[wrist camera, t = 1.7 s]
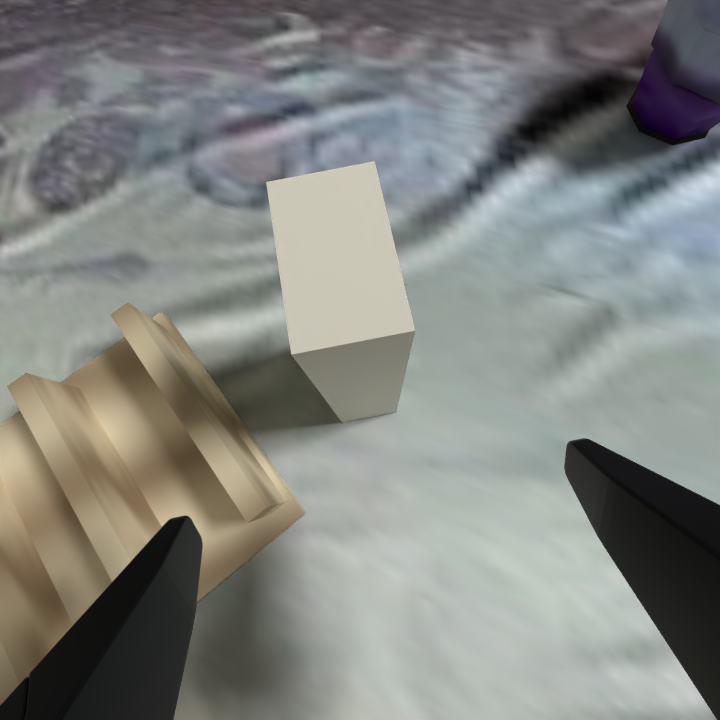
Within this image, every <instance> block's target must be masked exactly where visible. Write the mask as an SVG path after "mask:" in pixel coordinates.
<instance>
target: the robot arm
mask: <svg viewBox="0 0 720 720" xmlns="http://www.w3.org/2000/svg"><path fill="white" fill-rule="evenodd" d="M564 468H565V473H566V476H567V478H568V480H569V482H570V484H571V486H572V488H573V490H574V492H575V494H576V496H577V498H578V500H579V501H580V503H581V505H582V507H583V509H584V511H585V513H586V515H587V517H588V519H589V521H590V523H591V525H592V527H593V529H594V530H595V532H596V534H597V536H598V538H599V539H600V541H601V542H602V544H603V546H604V547H605V549H606V550H607V552H608V553H609V555H610V556H611V558H612V559H613V561H614V563H615V564H616V566H617V567H618V569H619V570H620V572H621V573H622V575H623V576H624V578H625V579H626V581H627V582H628V584H629V586H630V587H631V589H632V590H633V592H634V593H635V595H636V596H637V598H638V599H639V601H640V602H641V604H642V605H643V607H644V609H645V610H646V612H647V613H648V615H649V616H650V618H651V619H652V621H653V622H654V624H655V625H656V627H657V628H658V630H659V631H660V633H661V635H662V636H663V638H664V639H665V641H666V642H667V644H668V645H669V647H670V648H671V650H672V651H673V653H674V654H675V656H676V658H677V659H678V661H679V662H680V664H681V665H682V667H683V668H684V670H685V671H686V673H687V674H688V676H689V677H690V679H691V680H692V682H693V684H694V685H695V687H696V688H697V690H698V691H699V693H700V694H701V696H702V697H703V699H704V700H705V702H706V703H707V705H708V707H709V708H710V710H711V711H712V713H713V714H714V716H715V717H716V719H717V720H720V505H719V504H717V503H715V502H713V501H711V500H709V499H707V498H705V497H703V496H701V495H699V494H697V493H695V492H693V491H691V490H689V489H687V488H685V487H683V486H681V485H679V484H677V483H675V482H673V481H671V480H669V479H667V478H665V477H663V476H661V475H659V474H657V473H655V472H653V471H651V470H649V469H647V468H645V467H643V466H641V465H639V464H637V463H635V462H633V461H631V460H629V459H627V458H625V457H623V456H621V455H619V454H617V453H615V452H613V451H611V450H609V449H607V448H605V447H603V446H601V445H599V444H597V443H595V442H593V441H591V440H589V439H586V438H583V439H578V440H573V441H570V442H568V444H567V447H566V456H565V465H564ZM202 549H203V543H202V538H201V536H200V534H199V532H198V530H197V528H196V527H195V525H194V523H193V521H192V519H191V518H190V517H189V516H186V515H185V516H180V517H174V518H171V519H169V520H168V521H167V522H166V523H165V524H164V525H163V526H162V527H161V529H160V530H159V531H158V532H157V533H156V534H155V535H154V536H153V537H152V538H151V540H150V541H149V542H148V543H147V544H146V545H145V546H144V547H143V548H142V550H141V551H140V552H139V553H138V554H137V555H136V556H135V557H134V558H133V559H132V561H131V562H130V563H129V564H128V565H127V566H126V567H125V568H124V569H123V570H122V572H121V573H120V574H119V575H118V576H117V577H116V578H115V579H114V580H113V582H112V583H111V584H110V585H109V586H108V587H107V588H106V589H105V590H104V591H103V593H102V594H101V595H100V596H99V597H98V598H97V599H96V600H95V601H94V603H93V604H92V605H91V606H90V607H89V608H88V609H87V610H86V611H85V612H84V614H83V615H82V616H81V617H80V618H79V619H78V620H77V621H76V622H75V623H74V625H73V626H72V627H71V628H70V629H69V630H68V631H67V632H66V633H65V635H64V636H63V637H62V638H61V639H60V640H59V641H58V642H57V643H56V644H55V646H54V647H53V648H52V649H51V650H50V651H49V652H48V653H47V654H46V655H45V657H44V658H43V659H42V660H41V661H40V662H39V663H38V664H37V665H36V667H35V668H34V669H33V670H32V671H31V672H30V674H29V677H26V678H24V680H23V681H22V682H21V683H20V684H19V685H18V686H17V687H16V688H15V689H14V691H13V692H12V693H11V694H10V695H9V696H8V697H7V698H6V699H5V700H4V702H3V703H2V704H1V705H0V720H173V718H174V714H175V709H176V704H177V700H178V695H179V690H180V685H181V681H182V676H183V671H184V667H185V662H186V657H187V652H188V648H189V643H190V638H191V633H192V629H193V624H194V618H195V612H196V605H197V596H198V586H199V577H200V568H201V558H202Z"/></svg>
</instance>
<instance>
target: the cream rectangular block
mask: <svg viewBox="0 0 720 720" xmlns="http://www.w3.org/2000/svg"><path fill="white" fill-rule="evenodd" d="M266 183H267V190H268V197H269V204H270V211H271V218H272V224H273V231H274V238H275V245H276V252H277V259H278V266H279V273H280V280H281V287H282V294H283V301H284V307H285V314H286V321H287V328H288V335H289V342H290V349H291V355H292V356H293V357H294V359H295V360H296V361H297V363H298V364H299V365H300V367H301V368H302V369H303V371H304V372H305V373H306V375H307V376H308V377H309V379H310V380H311V381H312V383H313V384H314V385H315V387H316V388H317V389H318V391H319V392H320V393H321V395H322V396H323V397H324V399H325V400H326V401H327V403H328V404H329V405H330V407H331V408H332V409H333V411H334V412H335V413H336V415H337V416H338V417H339V419H340V420H341V421H342V423H343V422H348V421H353V420H358V419H363V418H368V417H373V416H379V415H384V414H389V413H394V412H396V411H397V406H398V402H399V398H400V393H401V389H402V385H403V380H404V376H405V372H406V367H407V363H408V359H409V355H410V350H411V346H412V342H413V337H414V333H415V328H414V324H413V320H412V316H411V312H410V307H409V303H408V299H407V295H406V291H405V287H404V282H403V278H402V274H401V270H400V266H399V261H398V257H397V253H396V249H395V245H394V241H393V236H392V232H391V228H390V224H389V220H388V216H387V211H386V207H385V203H384V199H383V195H382V191H381V186H380V182H379V178H378V174H377V170H376V165H375V161H374V162H368V163H363V164H358V165H353V166H348V167H342V168H337V169H332V170H327V171H322V172H317V173H311V174H306V175H301V176H296V177H291V178H285V179H280V180H275V181H270V182H266Z"/></svg>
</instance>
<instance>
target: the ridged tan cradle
mask: <svg viewBox="0 0 720 720" xmlns="http://www.w3.org/2000/svg"><path fill="white" fill-rule="evenodd" d="M111 316H112V318H113V319H114V321H115V323H116V324H117V326H118V327H119V329H120V330H121V332H122V333H123V335H124V336H125V338H123V339H122V340H120V341H119V342H117V343H116V344H115V345H113V346H112V347H110V348H109V349H107V350H106V351H105V352H103V353H102V354H100V355H99V356H98V357H96V358H95V359H93V360H92V361H90V362H89V363H88V364H86V365H85V366H83V367H82V368H80V369H79V370H78V371H76V372H75V373H73V374H72V375H71V376H69V377H68V378H66V379H65V380H63V381H62V382H61V383H59V382H56V381H52V380H49V379H45V378H42V377H38V376H35V375H31V374H28V373H25V374H24V375H23V376H21V377H20V378H18V379H17V380H15V381H14V382H12V383H11V384H10V385H8V386H7V387H8V389H9V391H10V393H11V394H12V396H13V398H14V400H15V402H16V404H17V406H18V408H19V409H20V411H19V412H18V413H17V414H15V415H14V416H12V417H11V418H9V419H8V420H7V421H5V422H4V423H2V424H1V425H0V705H1V704H2V703H3V702H4V700H5V699H6V698H7V697H8V696H9V695H10V694H11V693H12V692H13V691H14V689H15V688H16V687H17V686H18V685H19V684H20V683H21V682H22V681H23V680H24V678H26V677H29V674H30V672H31V671H32V670H33V669H34V668H35V667H36V665H37V664H38V663H39V662H40V661H41V660H42V659H43V658H44V657H45V655H46V654H47V653H48V652H49V651H50V650H51V649H52V648H53V647H54V646H55V644H56V643H57V642H58V641H59V640H60V639H61V638H62V637H63V636H64V635H65V633H66V632H67V631H68V630H69V629H70V628H71V627H72V626H73V625H74V623H75V622H76V621H77V620H78V619H79V618H80V617H81V616H82V615H83V614H84V612H85V611H86V610H87V609H88V608H89V607H90V606H91V605H92V604H93V603H94V601H95V600H96V599H97V598H98V597H99V596H100V595H101V594H102V593H103V591H104V590H105V589H106V588H107V587H108V586H109V585H110V584H111V583H112V582H113V580H114V579H115V578H116V577H117V576H118V575H119V574H120V573H121V572H122V570H123V569H124V568H125V567H126V566H127V565H128V564H129V563H130V562H131V561H132V559H133V558H134V557H135V556H136V555H137V554H138V553H139V552H140V551H141V550H142V548H143V547H144V546H145V545H146V544H147V543H148V542H149V541H150V540H151V538H152V537H153V536H154V535H155V534H156V533H157V532H158V531H159V530H160V529H161V527H162V526H163V525H164V524H165V523H166V522H167V521H168V520H169V519H171V518H174V517H180V516H185V515H186V516H189V517H190V518H191V519H192V521H193V523H194V525H195V527H196V528H197V530H198V532H199V534H200V536H201V538H202V543H203V549H202V558H201V568H200V577H199V586H198V596H197V603H198V602H199V601H200V600H201V599H203V598H204V597H205V596H206V595H207V594H209V593H210V592H211V591H212V590H214V589H215V588H216V587H217V586H218V585H220V584H221V583H222V582H223V581H224V580H226V579H227V578H228V577H229V576H230V575H232V574H233V573H234V572H235V571H236V570H238V569H239V568H240V567H241V566H243V565H244V564H245V563H246V562H247V561H249V560H250V559H251V558H252V557H253V556H255V555H256V554H257V553H258V552H259V551H261V550H262V549H263V548H264V547H265V546H267V545H268V544H269V543H270V542H272V541H273V540H274V539H275V538H276V537H278V536H279V535H280V534H281V533H282V532H284V531H285V530H286V529H287V528H288V527H290V526H291V525H292V524H293V523H294V522H296V521H297V520H298V519H299V518H301V517H302V516H303V515H304V514H305V513H306V511H305V510H304V508H303V507H302V506H301V504H300V503H299V501H298V500H297V498H296V497H295V496H294V494H293V493H292V491H291V490H290V489H289V487H288V486H287V484H286V483H285V481H284V480H283V479H282V477H281V476H280V474H279V473H278V472H277V470H276V469H275V467H274V466H273V464H272V463H271V462H270V460H269V459H268V457H267V456H266V455H265V453H264V452H263V450H262V449H261V447H260V446H259V445H258V443H257V442H256V440H255V439H254V438H253V436H252V435H251V433H250V432H249V430H248V429H247V428H246V426H245V425H244V423H243V422H242V421H241V419H240V418H239V416H238V415H237V413H236V412H235V411H234V409H233V408H232V406H231V405H230V404H229V402H228V401H227V399H226V398H225V396H224V395H223V394H222V392H221V391H220V389H219V388H218V387H217V385H216V384H215V382H214V381H213V379H212V378H211V377H210V375H209V374H208V372H207V371H206V370H205V368H204V367H203V365H202V364H201V362H200V361H199V360H198V358H197V357H196V355H195V354H194V353H193V351H192V350H191V348H190V347H189V345H188V344H187V343H186V341H185V340H184V338H183V337H182V336H181V334H180V333H179V331H178V330H177V328H176V327H175V326H174V324H173V323H172V321H171V320H170V319H169V318H168V317H167V316H165V315H164V314H163V313H161V312H160V313H159V314H157V315H156V316H154V317H153V318H150V317H149V316H147V315H146V314H144V313H143V312H141V311H140V310H138V309H137V308H135V307H134V306H132V305H131V304H129V303H127V304H125V305H124V306H122V307H121V308H119V309H118V310H117V311H115V312H114V313H112V314H111Z"/></svg>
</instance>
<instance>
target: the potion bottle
mask: <svg viewBox="0 0 720 720" xmlns="http://www.w3.org/2000/svg"><path fill="white" fill-rule="evenodd" d="M651 45H652V47H653V48H654V50H653V52H652V53H651V55H650V58H649V60H648V63H647V65H646V67H645V70H644V72H643V75H642V77H641V80H640V82H639V85H638V87H637V89H636V91H635V92H634V94H633V96H632V98H631V99H630V101H629V103H628V104H627V108H628V110H629V112H630V114H631V116H632V118H633V120H634V122H635V123H636V125H637V127H638V129H639V131H640V132H642V133H645V134H647V135H649V136H652V137H654V138H657V139H659V140H662V141H664V142H667V143H669V144H672V145H675V144H679V143H683V142H688V141H692V140H697V139H701V138H705V137H706V135H707V133H708V131H709V130H710V129H711V128H712V127H714V126H715V125H716V124H718V123H719V122H720V0H668V2H667V5H666V7H665V10H664V13H663V15H662V18H661V20H660V23H659V25H658V28H657V30H656V33H655V35H654V38H653V40H652V43H651Z"/></svg>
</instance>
